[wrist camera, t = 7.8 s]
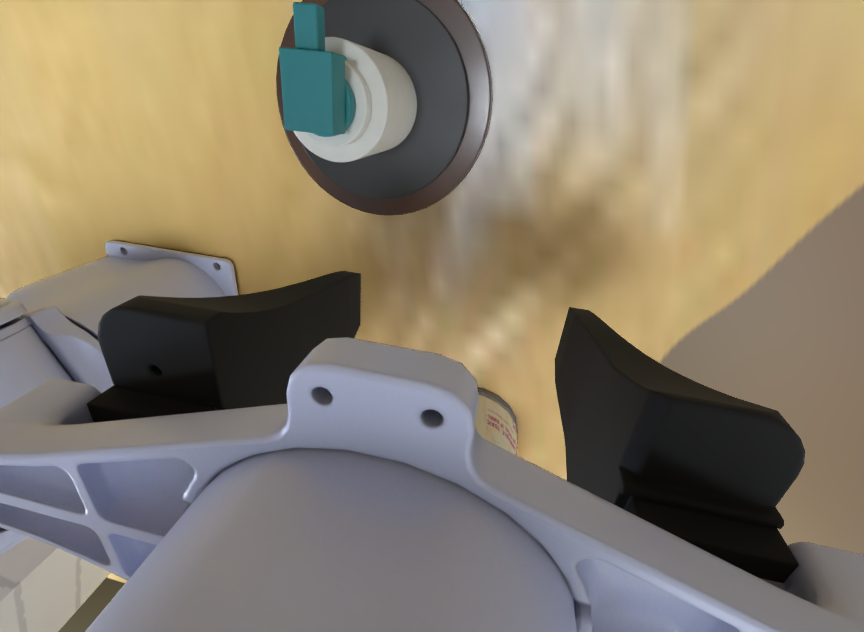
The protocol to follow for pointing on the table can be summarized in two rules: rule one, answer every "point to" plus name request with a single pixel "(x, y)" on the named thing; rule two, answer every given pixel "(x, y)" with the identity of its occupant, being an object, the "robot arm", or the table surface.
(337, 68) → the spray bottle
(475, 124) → the turntable base
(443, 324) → the table surface
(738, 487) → the robot arm
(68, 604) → the pizza boxes
